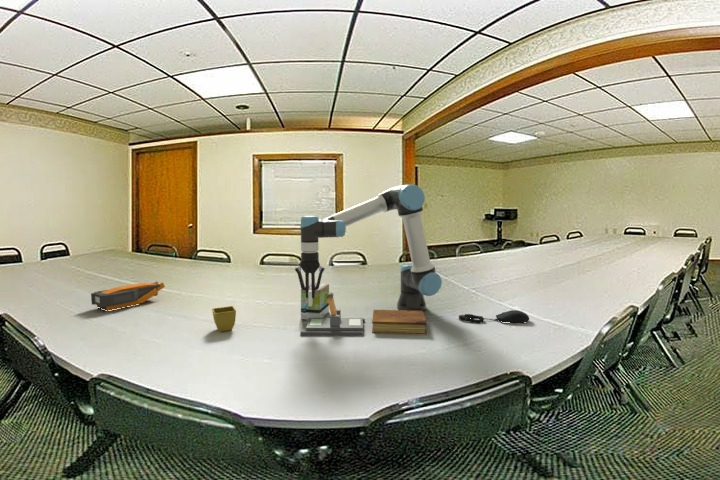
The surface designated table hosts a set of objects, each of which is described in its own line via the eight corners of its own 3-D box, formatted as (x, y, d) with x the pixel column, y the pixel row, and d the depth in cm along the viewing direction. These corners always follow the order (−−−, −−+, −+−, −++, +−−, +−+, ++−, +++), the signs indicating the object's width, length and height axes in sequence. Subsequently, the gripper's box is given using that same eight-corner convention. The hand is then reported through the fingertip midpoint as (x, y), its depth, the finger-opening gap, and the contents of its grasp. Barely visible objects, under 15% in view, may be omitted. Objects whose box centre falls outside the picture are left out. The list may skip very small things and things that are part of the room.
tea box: (320, 320, 176) (320, 289, 174) (300, 319, 178) (299, 288, 176) (329, 311, 190) (329, 283, 189) (310, 310, 192) (310, 282, 191)
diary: (422, 322, 176) (423, 310, 175) (426, 336, 157) (427, 322, 157) (373, 320, 178) (373, 308, 177) (371, 334, 159) (372, 320, 159)
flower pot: (215, 334, 157) (214, 313, 156) (212, 328, 165) (211, 308, 164) (236, 331, 161) (236, 310, 160) (233, 325, 169) (232, 305, 168)
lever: (339, 319, 168) (332, 291, 167) (338, 323, 162) (331, 294, 161) (333, 320, 168) (327, 292, 167) (332, 324, 162) (326, 295, 161)
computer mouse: (532, 324, 172) (533, 313, 171) (461, 324, 172) (461, 312, 172) (523, 318, 181) (524, 307, 180) (456, 318, 182) (456, 306, 181)
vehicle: (169, 299, 215) (168, 282, 214) (103, 314, 186) (101, 294, 185) (155, 296, 222) (154, 279, 221) (89, 309, 194) (88, 290, 193)
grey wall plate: (364, 321, 175) (364, 318, 175) (365, 335, 156) (365, 332, 156) (306, 321, 175) (306, 318, 175) (300, 335, 156) (300, 332, 156)
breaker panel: (362, 323, 172) (362, 308, 172) (363, 333, 158) (363, 317, 158) (310, 323, 172) (310, 308, 172) (306, 333, 158) (305, 317, 158)
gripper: (325, 250, 166) (326, 303, 168) (296, 250, 166) (297, 303, 168) (324, 252, 158) (324, 307, 161) (293, 252, 158) (294, 307, 161)
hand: (310, 305), depth 164 cm, fingers closed
